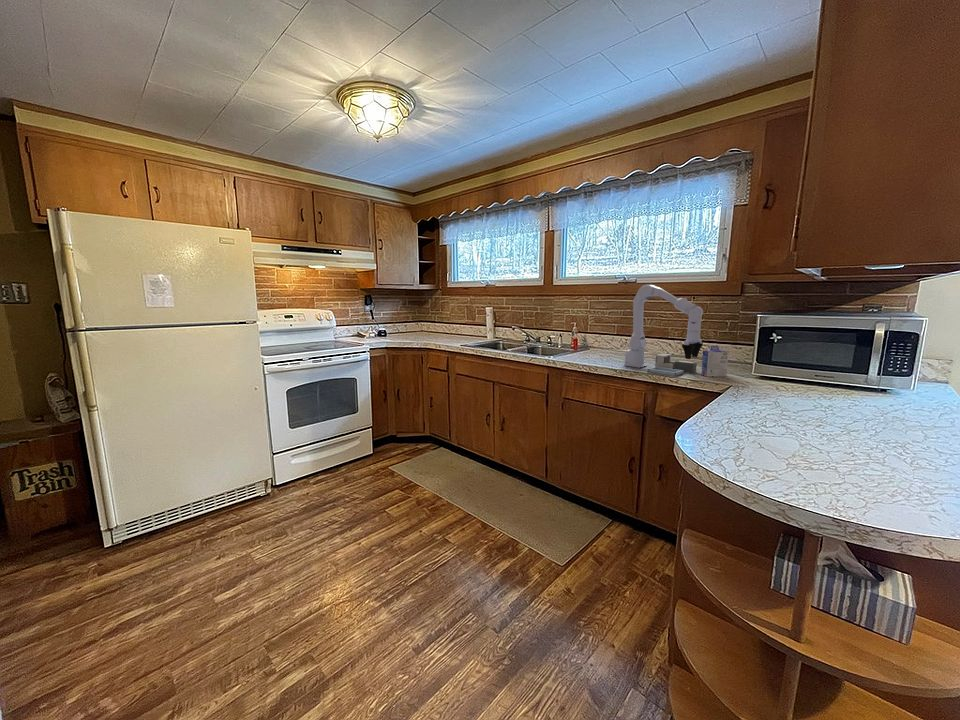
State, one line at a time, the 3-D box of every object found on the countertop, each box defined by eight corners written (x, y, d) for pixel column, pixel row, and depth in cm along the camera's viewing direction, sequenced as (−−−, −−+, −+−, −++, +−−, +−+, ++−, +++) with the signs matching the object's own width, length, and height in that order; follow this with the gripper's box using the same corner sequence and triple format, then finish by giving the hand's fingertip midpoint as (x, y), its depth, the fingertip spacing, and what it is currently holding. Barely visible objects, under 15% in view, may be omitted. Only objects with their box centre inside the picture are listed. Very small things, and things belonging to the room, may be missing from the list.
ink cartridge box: (720, 374, 191) (723, 345, 188) (727, 376, 185) (730, 346, 183) (700, 374, 191) (702, 345, 188) (706, 377, 185) (709, 346, 183)
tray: (647, 372, 197) (647, 368, 197) (655, 369, 203) (656, 366, 202) (675, 376, 186) (675, 372, 186) (683, 374, 192) (683, 370, 192)
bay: (654, 368, 206) (655, 355, 205) (662, 366, 211) (663, 353, 210) (672, 371, 199) (673, 357, 198) (679, 369, 204) (680, 355, 203)
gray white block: (674, 371, 200) (674, 361, 199) (677, 369, 203) (678, 360, 202) (692, 373, 194) (693, 363, 193) (695, 372, 196) (696, 362, 195)
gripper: (695, 332, 185) (693, 360, 187) (708, 330, 194) (705, 357, 196) (680, 331, 190) (678, 358, 193) (693, 329, 199) (691, 355, 202)
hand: (691, 357), depth 195 cm, fingers open, 7 cm apart
